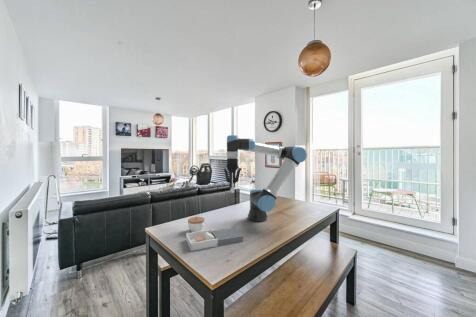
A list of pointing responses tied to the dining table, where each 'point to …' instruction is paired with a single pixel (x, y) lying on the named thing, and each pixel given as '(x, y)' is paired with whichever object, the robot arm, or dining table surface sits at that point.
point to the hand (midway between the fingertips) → (232, 192)
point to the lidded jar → (196, 224)
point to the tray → (202, 244)
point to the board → (227, 236)
